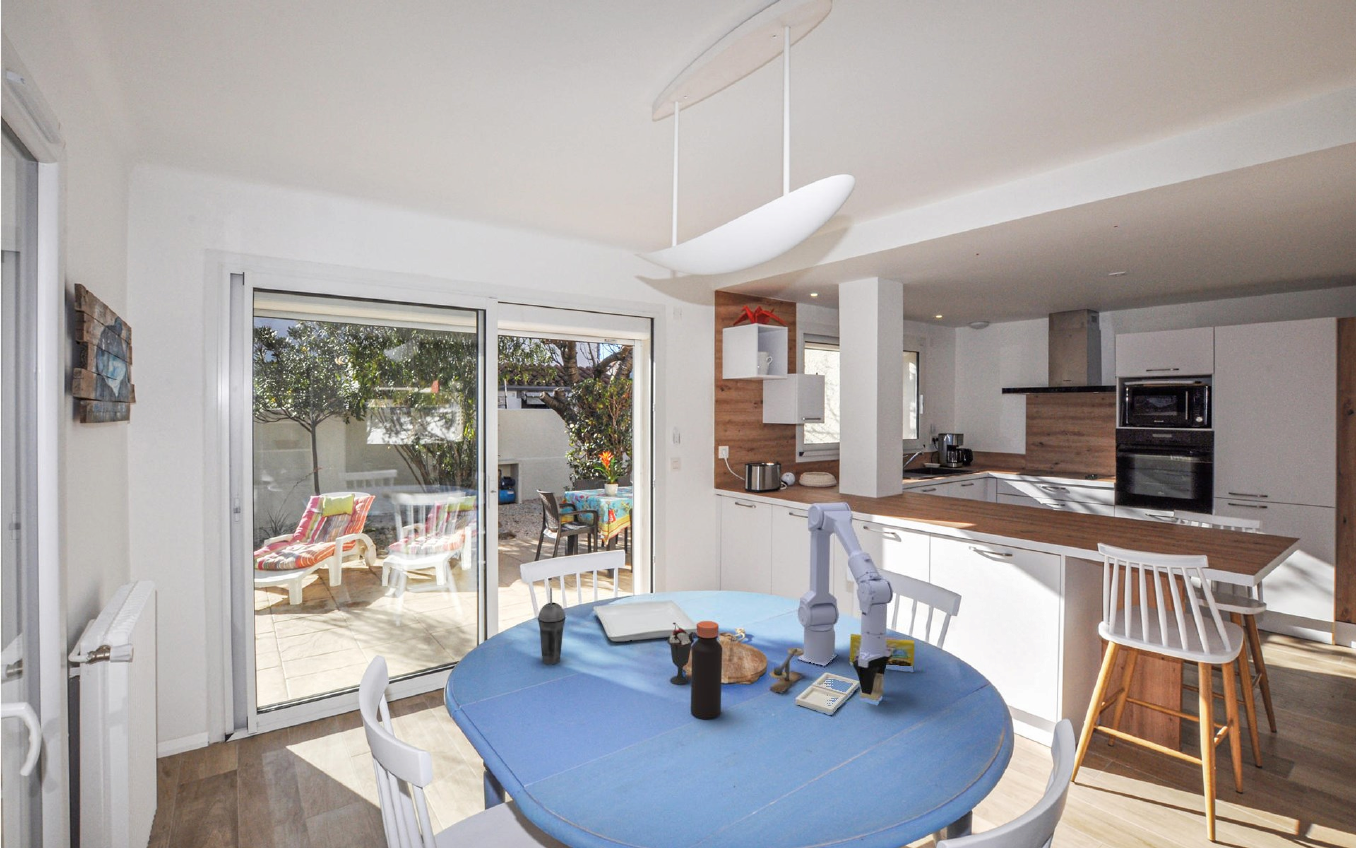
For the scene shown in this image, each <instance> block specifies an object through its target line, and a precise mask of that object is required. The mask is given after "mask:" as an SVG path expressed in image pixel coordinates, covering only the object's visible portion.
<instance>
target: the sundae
mask: <svg viewBox="0 0 1356 848" xmlns="http://www.w3.org/2000/svg"><path fill="white" fill-rule="evenodd" d="M673 624H674V625H675V624H676V622H675V623H673ZM676 625H677V624H676ZM678 628H679V627H678ZM675 629H676V626H675ZM666 642H667V644H668V645H669V646H670V652H671V653H670V655H671V661H672V663H673V664H674V665H675V666H676V667H677V675H675V676H672V677H671V678H669V681H670V683H672V684H674V685H677V686H678V685H679V686H683V685H684V686H685V685H687V684H688V683H690V681H691V680H690V678H689V677H687V676H685V675H684V674H683V673H684V672H683V670H684V669H683V668H684V667H685V666H686V665H687V664H688V663H689V661H690V654H691V650H692V645H693V644H694V643H695V639H694V632H691V633H690V634H688V633H687V632H686V631H685V630H683V629H682V628H679V629H678V631H677V630H674V631H673V634H672V635H671V637H668V638H667V641H666Z"/></svg>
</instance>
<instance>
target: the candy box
mask: <svg viewBox="0 0 1356 848" xmlns="http://www.w3.org/2000/svg"><path fill="white" fill-rule="evenodd" d="M886 641H887V647H886V650H887V651H890V652H891V653H892V655H891V657H890V659H889V661H888V663H887V665H899V666H915V665H914V664H915V663H914V662H915V641H914V640H910V639H901V638H893V637H892V638H891V637H886ZM849 643H850V645H849V646H850V648H849V663H850V662H852V663H853V662H854V661H855V660H858V659H859V657H860V646H861V634H854V633H850V642H849Z"/></svg>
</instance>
